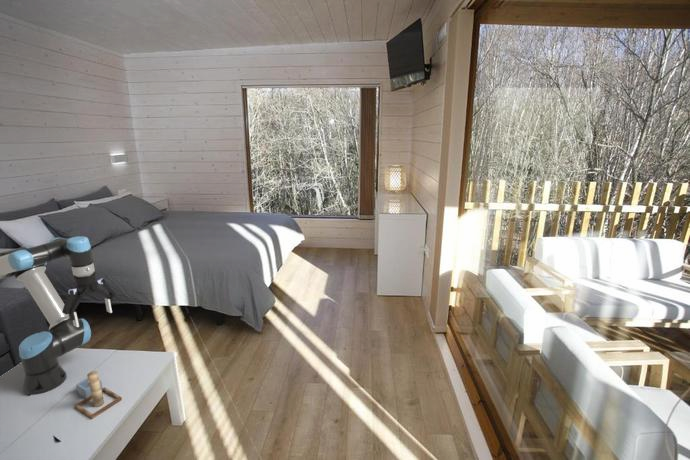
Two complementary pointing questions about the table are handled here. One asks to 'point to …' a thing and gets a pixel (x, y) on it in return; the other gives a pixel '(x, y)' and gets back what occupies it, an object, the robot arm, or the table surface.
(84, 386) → the blue grey open box
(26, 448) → the table surface
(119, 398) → the brown wooden frame
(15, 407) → the table surface
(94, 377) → the pestle
